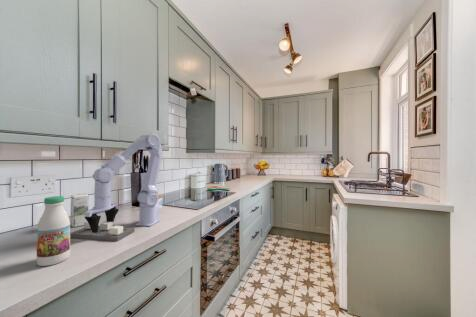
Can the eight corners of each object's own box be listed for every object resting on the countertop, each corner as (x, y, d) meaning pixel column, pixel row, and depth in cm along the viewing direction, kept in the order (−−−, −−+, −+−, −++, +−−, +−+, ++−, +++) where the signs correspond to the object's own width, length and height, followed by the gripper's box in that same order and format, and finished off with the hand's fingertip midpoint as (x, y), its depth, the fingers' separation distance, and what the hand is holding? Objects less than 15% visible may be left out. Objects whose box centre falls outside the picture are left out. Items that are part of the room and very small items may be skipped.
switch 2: (105, 227, 87) (105, 221, 87) (112, 227, 87) (113, 221, 87) (99, 229, 84) (100, 223, 84) (107, 230, 84) (107, 224, 84)
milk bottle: (36, 260, 63) (37, 196, 63) (68, 252, 68) (69, 193, 68) (36, 270, 57) (36, 200, 57) (71, 260, 63) (71, 197, 62)
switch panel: (90, 228, 90) (90, 225, 90) (134, 231, 87) (134, 228, 87) (68, 237, 80) (68, 233, 80) (117, 241, 77) (117, 237, 77)
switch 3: (115, 231, 82) (115, 225, 82) (123, 232, 82) (123, 226, 82) (109, 234, 79) (109, 228, 79) (117, 234, 79) (117, 228, 79)
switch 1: (89, 225, 89) (90, 220, 89) (97, 226, 88) (97, 220, 88) (83, 228, 86) (83, 222, 86) (91, 228, 85) (91, 222, 85)
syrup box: (85, 222, 99) (85, 193, 99) (88, 225, 95) (88, 194, 95) (70, 225, 94) (70, 194, 94) (73, 228, 91) (73, 196, 90)
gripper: (108, 193, 91) (107, 222, 91) (78, 199, 77) (78, 234, 77) (121, 194, 90) (121, 223, 90) (94, 200, 76) (94, 236, 76)
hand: (102, 229), depth 84 cm, fingers open, 7 cm apart
